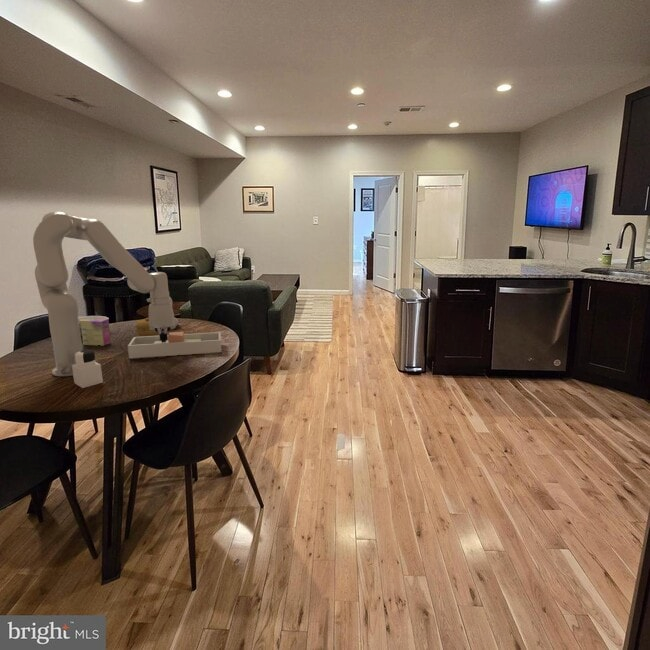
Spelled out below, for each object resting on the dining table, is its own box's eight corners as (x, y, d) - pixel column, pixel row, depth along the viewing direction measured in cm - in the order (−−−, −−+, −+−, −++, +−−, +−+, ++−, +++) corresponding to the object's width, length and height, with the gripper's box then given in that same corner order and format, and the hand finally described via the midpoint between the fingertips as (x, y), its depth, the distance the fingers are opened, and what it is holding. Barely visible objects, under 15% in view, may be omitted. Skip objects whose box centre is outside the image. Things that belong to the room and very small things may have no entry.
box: (111, 342, 202) (108, 318, 199) (104, 346, 196) (101, 321, 193) (91, 341, 203) (87, 318, 200) (83, 345, 197) (79, 320, 194)
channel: (221, 353, 187) (220, 340, 185) (129, 359, 178) (127, 345, 176) (221, 344, 200) (220, 332, 198) (135, 349, 191) (133, 337, 189)
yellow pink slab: (121, 333, 218) (119, 318, 216) (75, 344, 199) (72, 327, 197) (94, 326, 231) (92, 312, 229) (49, 336, 212) (47, 320, 210)
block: (183, 344, 185) (182, 335, 184) (168, 345, 184) (168, 336, 183) (184, 340, 192) (183, 331, 191) (170, 341, 190) (169, 332, 189)
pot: (132, 340, 206) (130, 320, 203) (142, 334, 217) (140, 315, 214) (156, 340, 206) (154, 320, 203) (165, 334, 217) (163, 315, 215)
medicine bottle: (94, 378, 157) (90, 347, 154) (103, 382, 153) (99, 351, 150) (74, 383, 152) (69, 351, 149) (82, 388, 147) (77, 356, 144)
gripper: (140, 303, 176) (144, 345, 181) (177, 301, 180) (181, 343, 185) (142, 300, 184) (147, 340, 188) (178, 298, 187) (182, 338, 192)
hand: (164, 341), depth 186 cm, fingers closed
